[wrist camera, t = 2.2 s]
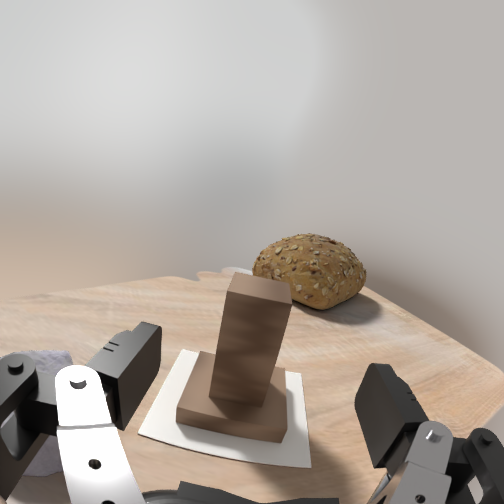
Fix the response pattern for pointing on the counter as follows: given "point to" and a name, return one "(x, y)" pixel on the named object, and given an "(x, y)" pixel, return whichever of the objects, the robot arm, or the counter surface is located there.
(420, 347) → the counter surface
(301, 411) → the tile
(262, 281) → the walnut stamp
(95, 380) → the robot arm
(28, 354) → the stone block
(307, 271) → the bread
